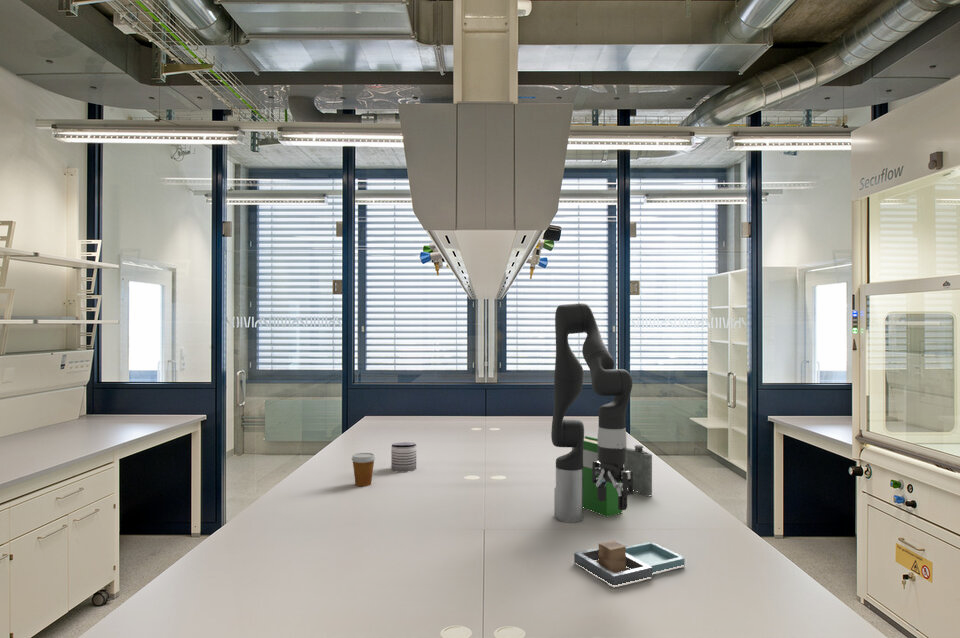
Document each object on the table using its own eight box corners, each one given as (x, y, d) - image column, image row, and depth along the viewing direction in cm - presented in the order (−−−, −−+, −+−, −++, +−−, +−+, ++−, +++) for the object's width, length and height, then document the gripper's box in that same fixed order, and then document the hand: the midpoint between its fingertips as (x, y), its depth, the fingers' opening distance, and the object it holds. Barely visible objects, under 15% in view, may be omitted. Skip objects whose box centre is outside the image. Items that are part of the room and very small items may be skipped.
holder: (574, 563, 160) (574, 552, 160) (610, 555, 166) (610, 545, 166) (613, 588, 145) (613, 576, 145) (652, 579, 151) (652, 567, 151)
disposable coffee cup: (372, 487, 234) (372, 457, 234) (348, 487, 234) (349, 457, 234) (377, 481, 243) (377, 452, 243) (354, 481, 243) (354, 452, 244)
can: (386, 471, 260) (386, 444, 260) (397, 465, 271) (397, 439, 271) (410, 473, 257) (410, 445, 257) (420, 467, 268) (420, 441, 268)
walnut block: (598, 569, 157) (598, 543, 157) (613, 566, 159) (613, 540, 159) (610, 576, 152) (610, 549, 152) (625, 573, 154) (625, 546, 154)
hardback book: (571, 503, 214) (571, 438, 214) (586, 500, 218) (586, 436, 218) (606, 517, 199) (606, 446, 199) (622, 513, 203) (622, 444, 203)
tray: (614, 557, 164) (614, 548, 164) (651, 549, 170) (651, 541, 170) (647, 576, 152) (647, 566, 152) (686, 567, 158) (686, 557, 158)
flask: (629, 486, 237) (629, 442, 237) (655, 495, 224) (655, 448, 225) (622, 487, 235) (622, 442, 235) (647, 496, 223) (647, 449, 223)
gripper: (584, 440, 161) (584, 500, 160) (618, 450, 148) (618, 515, 148) (606, 438, 164) (606, 496, 164) (641, 448, 151) (641, 511, 151)
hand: (611, 505), depth 156 cm, fingers open, 8 cm apart
